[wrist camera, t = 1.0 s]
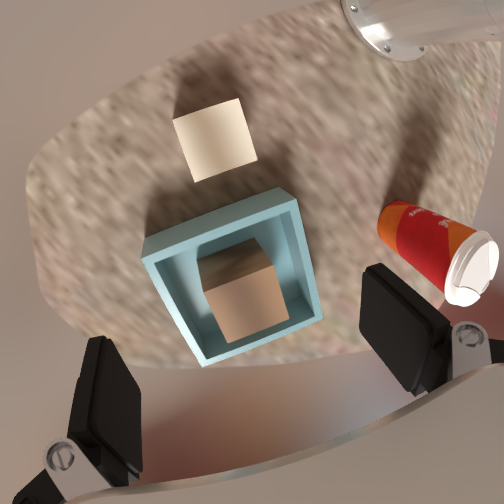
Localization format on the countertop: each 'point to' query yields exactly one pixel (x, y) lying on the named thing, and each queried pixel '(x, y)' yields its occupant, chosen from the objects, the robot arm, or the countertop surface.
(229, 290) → the walnut block
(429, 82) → the countertop surface
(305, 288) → the tote
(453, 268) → the paper cup
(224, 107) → the birch block
